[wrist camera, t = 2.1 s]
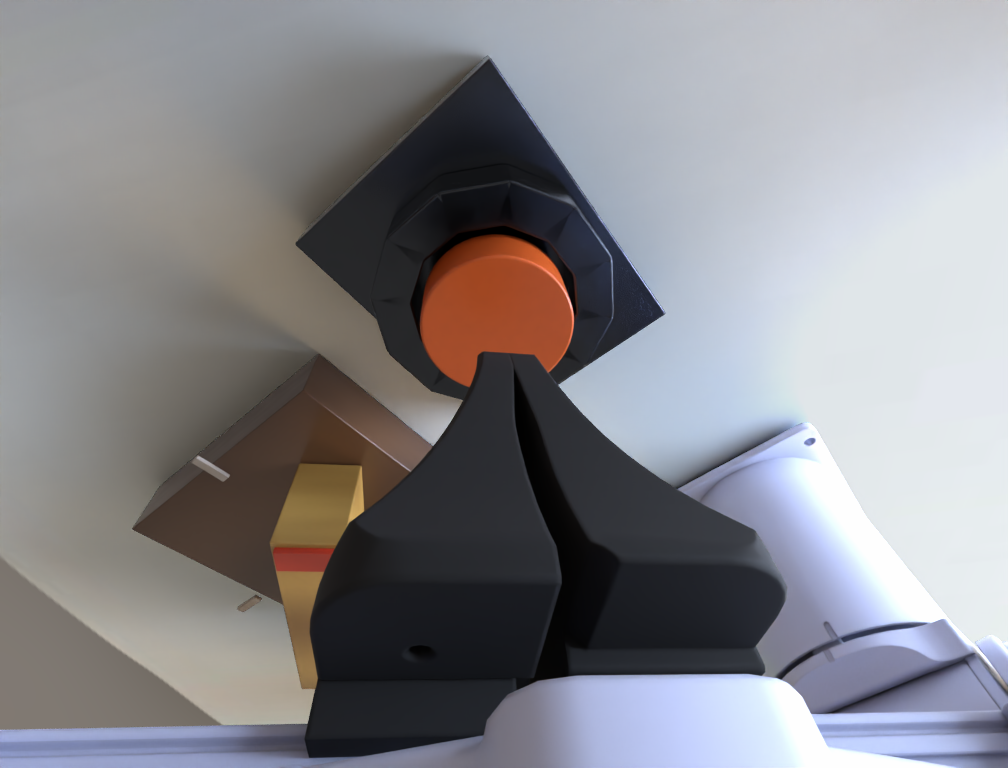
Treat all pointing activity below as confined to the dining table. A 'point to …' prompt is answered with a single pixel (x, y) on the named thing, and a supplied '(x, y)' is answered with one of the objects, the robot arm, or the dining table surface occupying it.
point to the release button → (494, 305)
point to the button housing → (475, 225)
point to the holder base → (276, 472)
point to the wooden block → (311, 545)
